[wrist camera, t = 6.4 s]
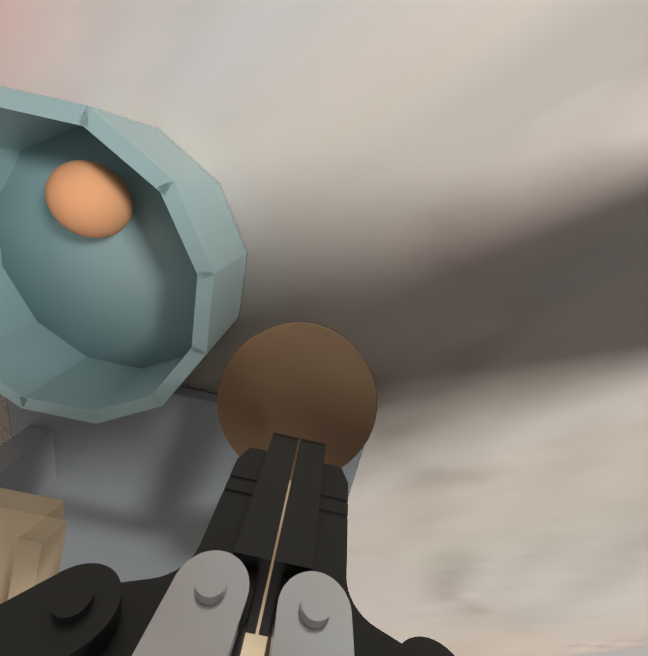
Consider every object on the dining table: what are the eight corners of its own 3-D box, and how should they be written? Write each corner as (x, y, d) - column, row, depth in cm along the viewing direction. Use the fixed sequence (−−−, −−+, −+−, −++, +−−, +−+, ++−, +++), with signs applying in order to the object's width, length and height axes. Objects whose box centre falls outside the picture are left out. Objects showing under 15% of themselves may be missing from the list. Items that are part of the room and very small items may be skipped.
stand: (13, 350, 20) (-300, 502, 10) (366, 425, 20) (384, 640, 11) (38, 559, 26) (-145, 778, 16) (309, 614, 26) (287, 860, 17)
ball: (137, 252, 16) (152, 187, 16) (97, 234, 13) (115, 154, 13) (71, 237, 16) (86, 172, 16) (16, 216, 13) (34, 137, 13)
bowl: (260, 151, 16) (228, 137, 11) (229, 390, 20) (197, 445, 16) (-20, 88, 15) (-161, 49, 11) (11, 344, 20) (-82, 386, 16)
